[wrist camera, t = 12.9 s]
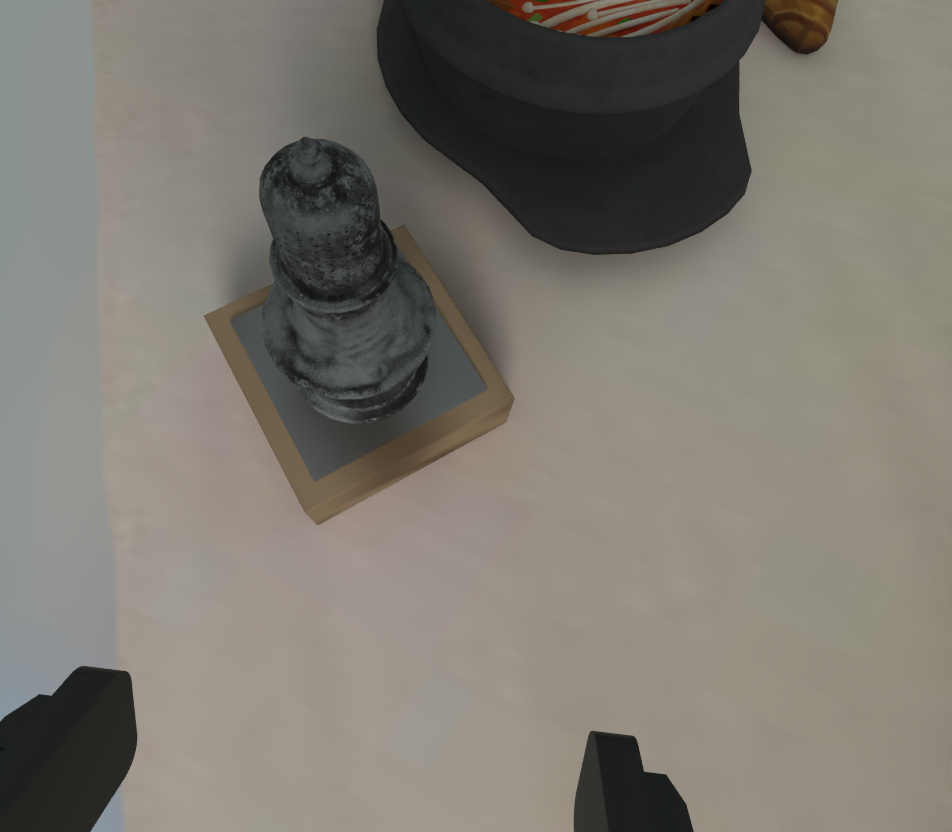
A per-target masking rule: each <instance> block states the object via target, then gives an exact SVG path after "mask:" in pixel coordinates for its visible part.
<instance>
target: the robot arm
mask: <svg viewBox="0 0 952 832" xmlns="http://www.w3.org/2000/svg"><path fill="white" fill-rule="evenodd" d="M136 746H137V729H136V719H135V710H134V700H133V691H132V681H131V677H130V674H129V673H128V672H127V671H120V670H112V669H104V668H96V667H88V666H81V667H79V668H77V669H76V670H75V671H73V672H72V673H71V674H70V676H69V677H68V678H67V679H66V680H65V681H64V682H63V684H62V685H61V686H60V687H59V688H58V689H57V690H56V691H55V693H54V694H53V695H52V696H49V695H40V694H39V695H38V696H36V697H35V698H33V699H31V700H30V701H28V702H27V703H25V704H24V705H22V706H21V707H19V708H18V709H16V710H15V711H13V712H12V713H10V714H8V715H7V716H5V717H4V718H3V719H2V721H1V722H0V832H90V831H91V830H92V828H93V827H94V825H95V823H96V822H97V820H98V819H99V817H100V816H101V814H102V812H103V811H104V809H105V808H106V806H107V805H108V803H109V801H110V800H111V798H112V797H113V795H114V794H115V792H116V791H117V789H118V788H119V786H120V784H121V783H122V781H123V780H124V778H125V776H126V775H127V773H128V771H129V769H130V766H131V764H132V761H133V758H134V755H135V751H136ZM574 832H694V831H693V828H692V824H691V820H690V817H689V813H688V809H687V805H686V803H685V802H684V800H683V799H682V797H681V796H680V794H679V793H678V791H677V790H676V788H675V787H674V786H673V784H672V783H671V781H670V780H669V778H668V777H667V775H665V774H657V773H649V772H644V770H643V765H642V760H641V756H640V751H639V746H638V743H637V740H636V738H635V737H634V736H630V735H622V734H614V733H606V732H598V731H591V732H590V733H589V736H588V740H587V745H586V750H585V754H584V759H583V763H582V768H581V773H580V777H579V782H578V787H577V791H576V797H575V806H574Z"/></svg>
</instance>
